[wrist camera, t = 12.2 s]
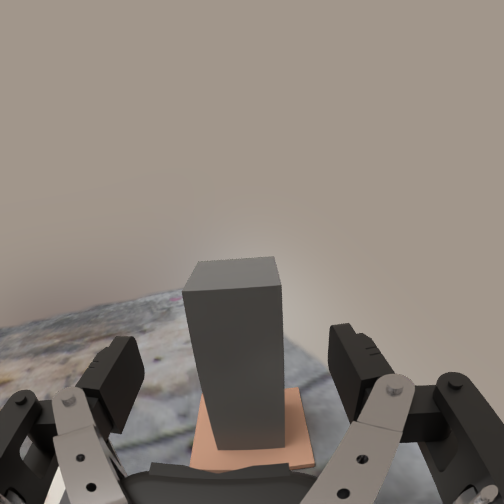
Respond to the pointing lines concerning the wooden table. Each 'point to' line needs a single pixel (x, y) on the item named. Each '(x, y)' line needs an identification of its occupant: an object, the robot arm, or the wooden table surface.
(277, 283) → the block
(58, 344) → the wooden table surface
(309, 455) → the tile coaster
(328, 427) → the wooden table surface
